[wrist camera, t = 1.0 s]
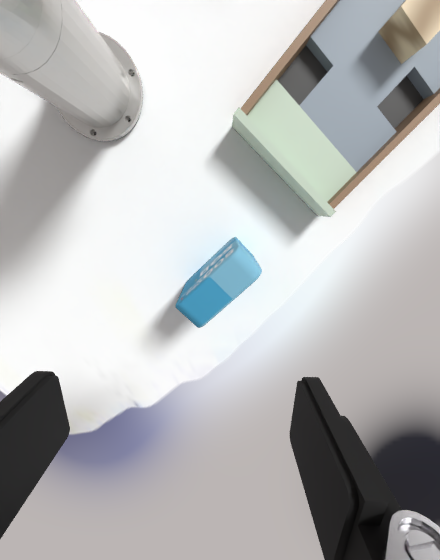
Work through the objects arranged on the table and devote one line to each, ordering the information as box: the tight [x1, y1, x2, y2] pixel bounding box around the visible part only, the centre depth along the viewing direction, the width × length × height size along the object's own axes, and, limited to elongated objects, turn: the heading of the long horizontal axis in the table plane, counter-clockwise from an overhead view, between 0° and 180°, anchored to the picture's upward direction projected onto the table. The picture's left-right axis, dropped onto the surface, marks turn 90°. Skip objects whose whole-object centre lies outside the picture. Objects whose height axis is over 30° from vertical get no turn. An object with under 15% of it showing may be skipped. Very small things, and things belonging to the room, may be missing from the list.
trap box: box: [232, 0, 440, 217], centre depth 31 cm, size 19×26×5 cm
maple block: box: [378, 0, 440, 64], centre depth 28 cm, size 5×6×4 cm
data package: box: [175, 237, 262, 328], centre depth 36 cm, size 12×4×12 cm, turn 134°
